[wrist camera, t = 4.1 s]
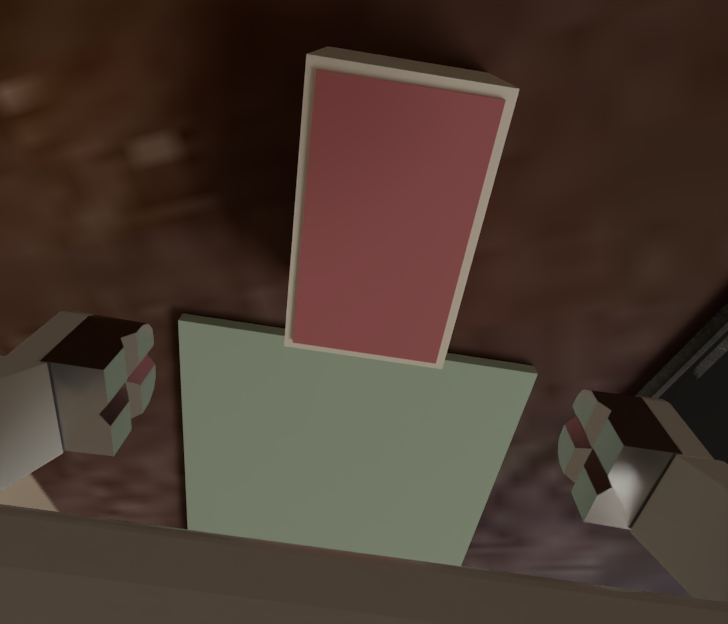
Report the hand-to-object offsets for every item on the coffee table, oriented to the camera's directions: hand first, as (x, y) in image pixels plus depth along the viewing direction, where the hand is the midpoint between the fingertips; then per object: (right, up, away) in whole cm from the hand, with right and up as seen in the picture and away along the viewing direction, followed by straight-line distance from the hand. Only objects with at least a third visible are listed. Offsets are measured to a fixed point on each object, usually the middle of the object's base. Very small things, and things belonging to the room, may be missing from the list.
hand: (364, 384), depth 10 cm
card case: (+1, +6, +10) cm, 12 cm away
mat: (-2, -8, +18) cm, 20 cm away
